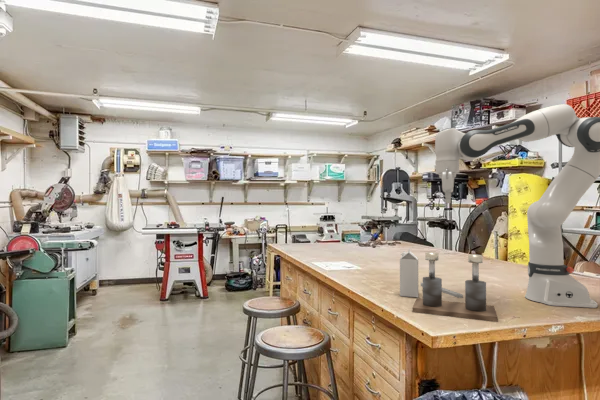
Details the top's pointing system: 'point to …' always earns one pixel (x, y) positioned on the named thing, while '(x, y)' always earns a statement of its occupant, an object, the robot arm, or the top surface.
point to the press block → (469, 309)
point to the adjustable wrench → (450, 292)
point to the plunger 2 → (475, 265)
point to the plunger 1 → (431, 262)
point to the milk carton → (409, 274)
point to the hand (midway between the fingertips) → (448, 203)
